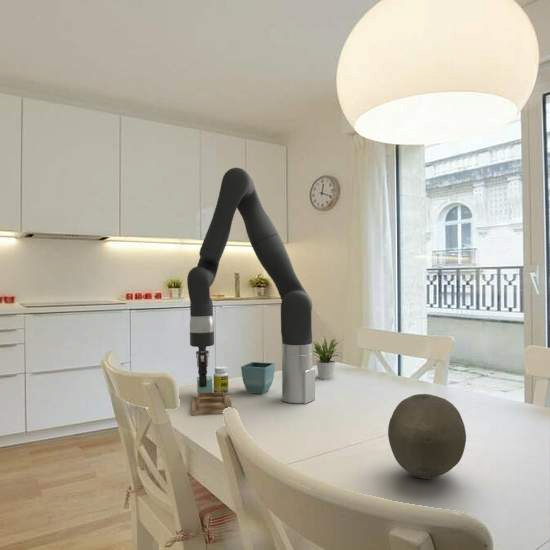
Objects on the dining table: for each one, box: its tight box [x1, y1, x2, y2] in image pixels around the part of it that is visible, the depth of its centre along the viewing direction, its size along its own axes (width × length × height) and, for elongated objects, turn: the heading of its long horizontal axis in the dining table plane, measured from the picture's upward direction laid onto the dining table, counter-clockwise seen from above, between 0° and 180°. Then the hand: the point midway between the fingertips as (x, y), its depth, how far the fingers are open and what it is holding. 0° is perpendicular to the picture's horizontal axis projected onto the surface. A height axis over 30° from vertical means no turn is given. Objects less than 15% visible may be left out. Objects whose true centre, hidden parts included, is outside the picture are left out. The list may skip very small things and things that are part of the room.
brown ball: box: [387, 393, 467, 479], centre depth 84 cm, size 14×14×15 cm
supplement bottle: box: [213, 365, 229, 395], centre depth 148 cm, size 5×5×8 cm
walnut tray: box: [191, 391, 233, 416], centre depth 132 cm, size 11×15×2 cm
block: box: [196, 375, 213, 394], centre depth 143 cm, size 4×4×4 cm
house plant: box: [312, 335, 343, 380], centre depth 171 cm, size 14×14×16 cm
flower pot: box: [240, 361, 276, 395], centre depth 150 cm, size 9×9×9 cm
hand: (202, 384), depth 143 cm, fingers closed on block, 4 cm apart
